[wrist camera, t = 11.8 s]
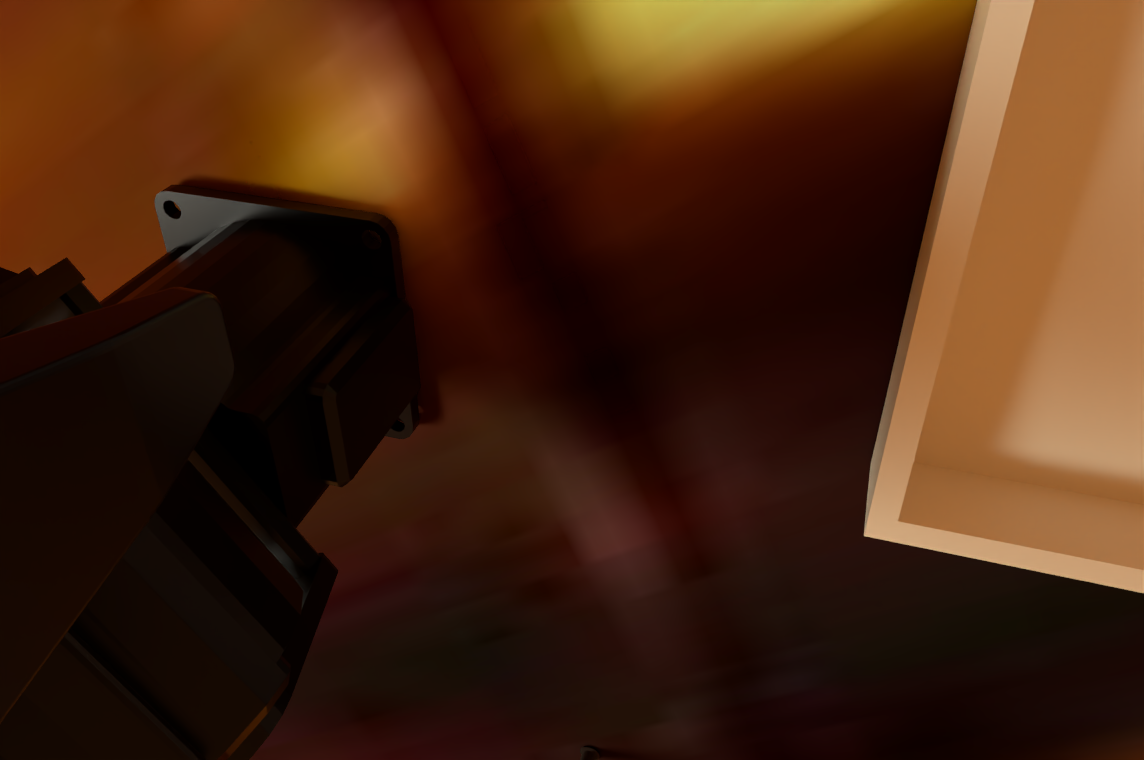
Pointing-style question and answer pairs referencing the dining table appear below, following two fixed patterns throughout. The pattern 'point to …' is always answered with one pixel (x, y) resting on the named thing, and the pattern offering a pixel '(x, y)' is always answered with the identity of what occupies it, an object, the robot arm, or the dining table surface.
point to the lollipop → (589, 754)
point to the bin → (1028, 307)
